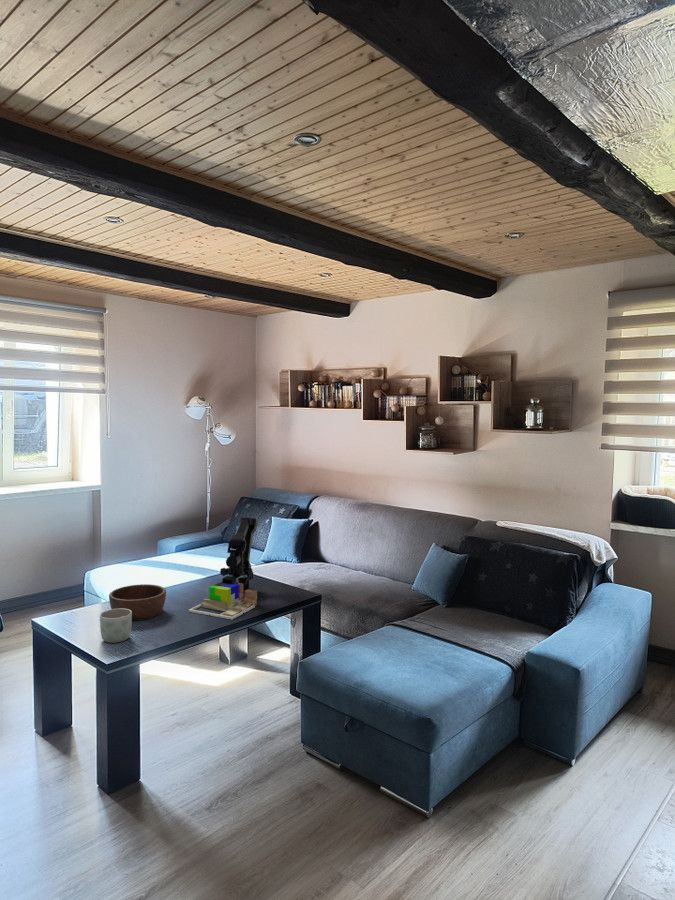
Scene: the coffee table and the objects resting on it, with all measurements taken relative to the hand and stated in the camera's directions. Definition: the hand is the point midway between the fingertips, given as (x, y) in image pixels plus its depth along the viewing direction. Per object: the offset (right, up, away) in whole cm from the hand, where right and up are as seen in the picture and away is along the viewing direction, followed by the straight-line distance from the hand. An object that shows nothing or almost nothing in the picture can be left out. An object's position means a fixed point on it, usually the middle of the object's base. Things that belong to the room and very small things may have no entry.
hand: (237, 593), depth 304 cm
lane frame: (-4, -3, -18) cm, 19 cm away
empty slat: (+5, -4, -19) cm, 20 cm away
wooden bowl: (-42, -4, -24) cm, 48 cm away
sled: (-4, -3, -8) cm, 9 cm away
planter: (-40, -6, -56) cm, 69 cm away
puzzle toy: (-4, -3, -13) cm, 14 cm away
